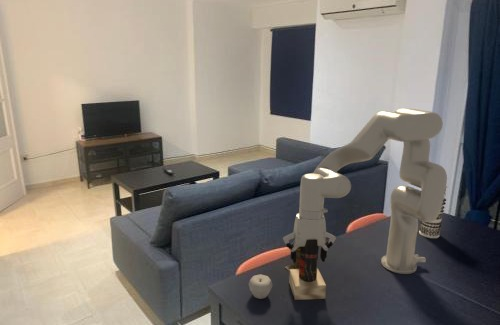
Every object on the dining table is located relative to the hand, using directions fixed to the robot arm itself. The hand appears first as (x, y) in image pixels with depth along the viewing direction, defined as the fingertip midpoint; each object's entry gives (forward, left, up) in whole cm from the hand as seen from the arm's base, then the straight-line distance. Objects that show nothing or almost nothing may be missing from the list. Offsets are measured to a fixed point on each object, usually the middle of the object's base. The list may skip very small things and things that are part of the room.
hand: (308, 260), depth 117 cm
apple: (+16, +2, -12) cm, 20 cm away
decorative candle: (-66, -38, -12) cm, 77 cm away
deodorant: (0, 0, -6) cm, 7 cm away
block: (0, 0, -11) cm, 11 cm away
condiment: (0, -13, -12) cm, 17 cm away
